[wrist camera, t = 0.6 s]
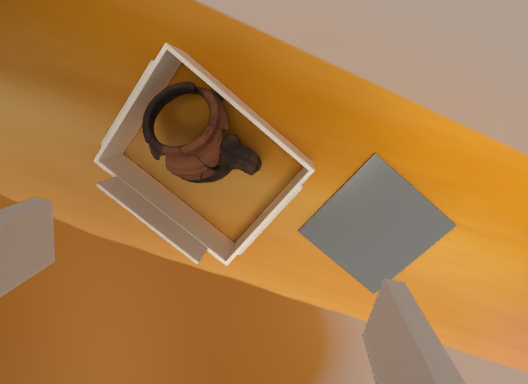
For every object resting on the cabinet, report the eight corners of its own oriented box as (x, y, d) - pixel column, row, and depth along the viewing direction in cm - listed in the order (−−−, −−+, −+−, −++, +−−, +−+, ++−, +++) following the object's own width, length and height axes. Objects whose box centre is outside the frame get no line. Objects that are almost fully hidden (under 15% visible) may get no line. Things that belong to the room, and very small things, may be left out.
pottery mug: (162, 175, 34) (115, 149, 26) (195, 105, 35) (159, 60, 27) (255, 209, 31) (233, 192, 23) (286, 132, 32) (276, 90, 24)
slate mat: (298, 230, 34) (298, 231, 33) (374, 152, 30) (375, 153, 30) (373, 292, 35) (373, 293, 34) (455, 224, 31) (456, 225, 31)
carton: (116, 152, 34) (68, 164, 26) (182, 49, 29) (145, 31, 22) (237, 248, 35) (221, 284, 28) (315, 163, 31) (319, 180, 24)
